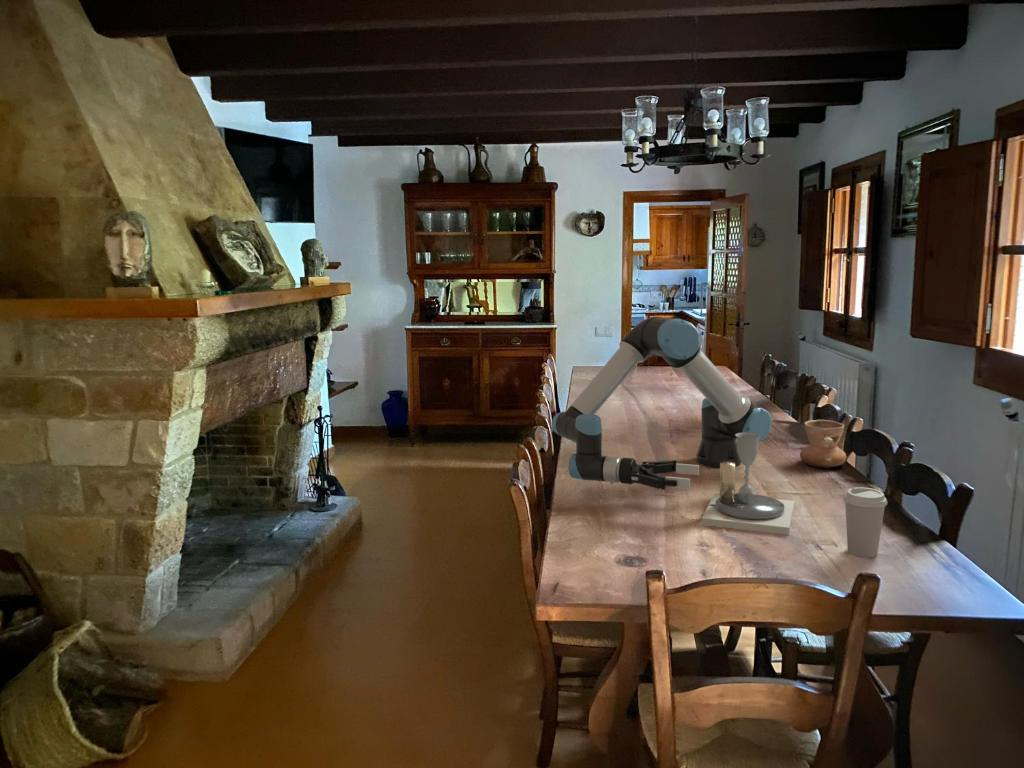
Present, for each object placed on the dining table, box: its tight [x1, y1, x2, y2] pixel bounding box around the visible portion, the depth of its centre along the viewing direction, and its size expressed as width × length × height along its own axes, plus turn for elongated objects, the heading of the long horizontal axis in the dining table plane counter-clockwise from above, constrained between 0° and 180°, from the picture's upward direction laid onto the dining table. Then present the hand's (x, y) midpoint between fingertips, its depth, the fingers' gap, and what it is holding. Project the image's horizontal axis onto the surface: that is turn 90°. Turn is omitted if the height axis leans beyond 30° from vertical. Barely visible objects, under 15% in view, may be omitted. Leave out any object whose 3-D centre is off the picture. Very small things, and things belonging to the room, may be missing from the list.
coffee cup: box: [842, 486, 888, 559], centre depth 179 cm, size 10×10×15 cm
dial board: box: [701, 492, 796, 536], centre depth 207 cm, size 22×22×2 cm
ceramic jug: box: [799, 419, 847, 469], centre depth 252 cm, size 18×14×14 cm
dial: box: [716, 462, 784, 520], centre depth 206 cm, size 18×18×12 cm
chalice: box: [736, 432, 760, 494], centre depth 225 cm, size 7×7×18 cm
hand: (694, 476), depth 211 cm, fingers open, 13 cm apart
